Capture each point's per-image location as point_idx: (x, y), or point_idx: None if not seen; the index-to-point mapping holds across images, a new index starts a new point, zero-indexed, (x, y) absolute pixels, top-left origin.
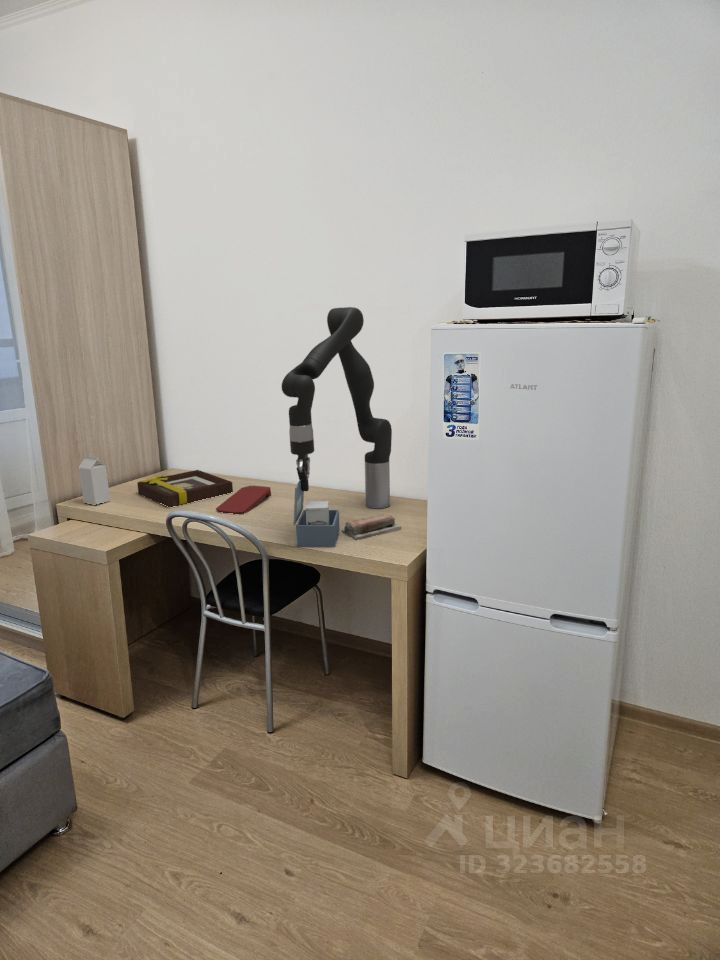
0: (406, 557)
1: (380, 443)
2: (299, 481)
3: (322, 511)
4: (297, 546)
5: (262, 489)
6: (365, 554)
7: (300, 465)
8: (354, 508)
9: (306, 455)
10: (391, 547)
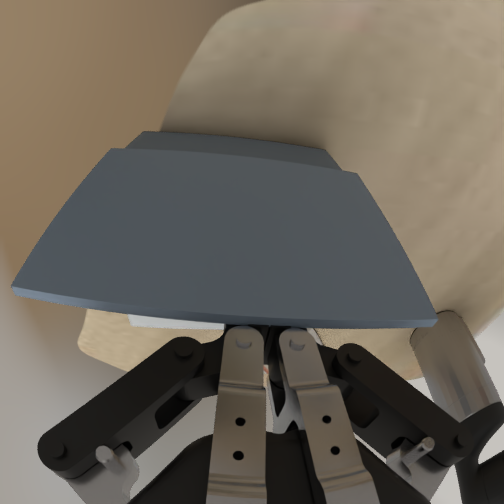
0: (108, 358)
1: (458, 480)
2: (209, 317)
3: None
4: (142, 132)
5: None
6: None
7: (81, 495)
8: (443, 290)
9: None
10: (154, 347)
